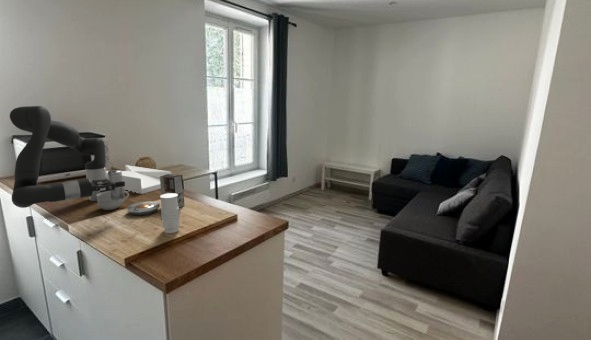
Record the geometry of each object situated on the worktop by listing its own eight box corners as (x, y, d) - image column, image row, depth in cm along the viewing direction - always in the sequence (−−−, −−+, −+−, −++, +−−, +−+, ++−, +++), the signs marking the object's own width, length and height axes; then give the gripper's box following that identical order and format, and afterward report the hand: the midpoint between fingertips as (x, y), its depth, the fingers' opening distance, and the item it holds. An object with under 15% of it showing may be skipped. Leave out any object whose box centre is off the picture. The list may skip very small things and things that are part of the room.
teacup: (97, 213, 148) (95, 197, 147) (99, 206, 158) (97, 191, 156) (130, 209, 155) (128, 193, 153) (130, 202, 164) (128, 188, 162)
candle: (182, 231, 128) (179, 196, 125) (164, 235, 124) (161, 199, 121) (178, 225, 134) (176, 192, 131) (161, 229, 130) (158, 194, 127)
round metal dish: (121, 213, 148) (120, 207, 148) (148, 205, 160) (147, 199, 159) (139, 218, 141) (139, 212, 141) (166, 210, 153) (165, 204, 152)
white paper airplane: (94, 185, 200) (93, 170, 198) (126, 178, 219) (125, 164, 217) (142, 194, 180) (140, 178, 178) (172, 186, 200) (171, 171, 198)
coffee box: (185, 205, 161) (183, 174, 157) (176, 209, 155) (174, 177, 151) (170, 203, 164) (168, 173, 160) (161, 207, 158) (159, 176, 154)
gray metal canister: (108, 198, 138) (105, 171, 135) (119, 195, 142) (117, 169, 139) (115, 200, 135) (112, 173, 132) (126, 197, 139) (123, 170, 137)
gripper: (79, 183, 122) (126, 176, 133) (72, 177, 131) (116, 171, 143) (82, 202, 123) (128, 193, 135) (74, 194, 133) (118, 187, 145)
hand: (122, 182), depth 139 cm, fingers closed on gray metal canister, 5 cm apart
